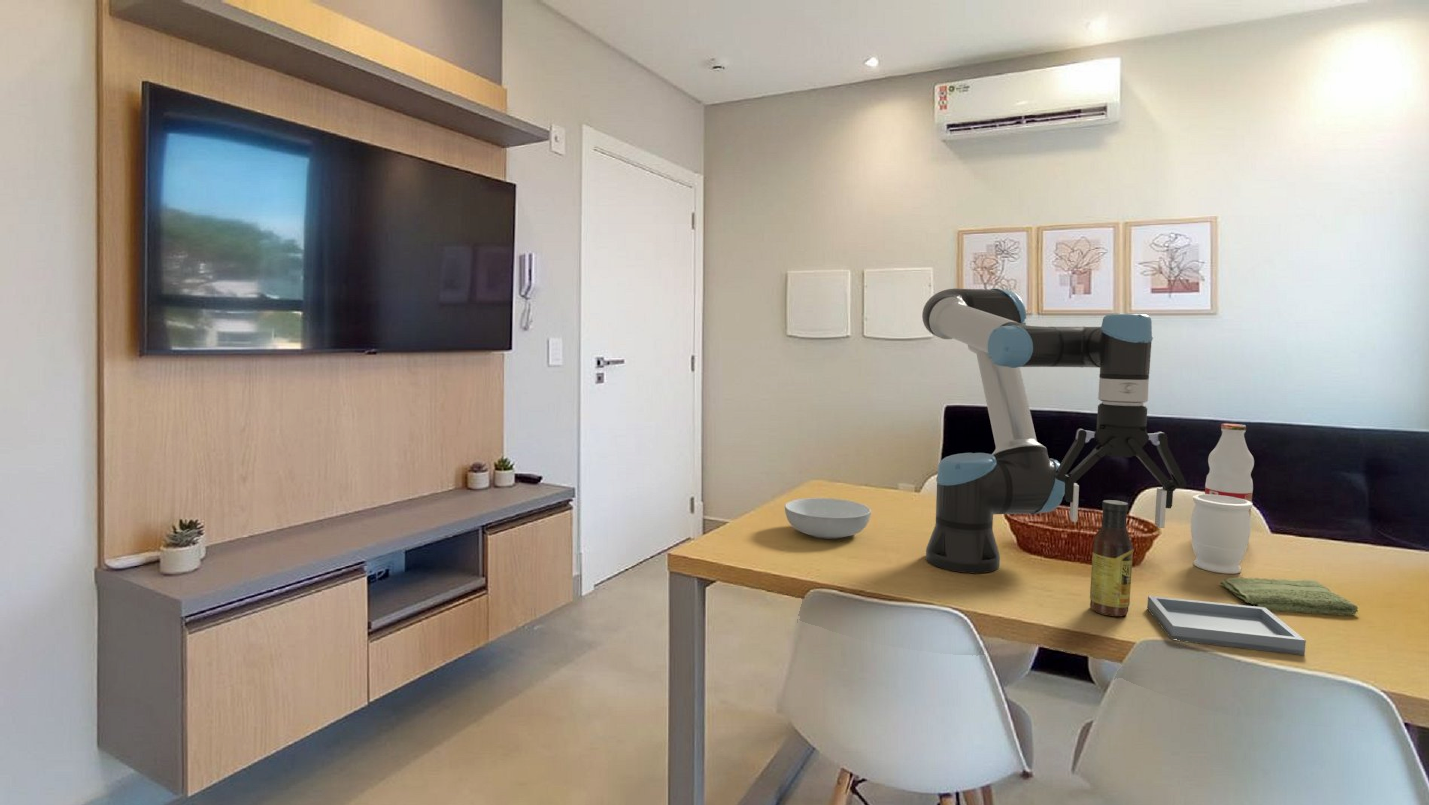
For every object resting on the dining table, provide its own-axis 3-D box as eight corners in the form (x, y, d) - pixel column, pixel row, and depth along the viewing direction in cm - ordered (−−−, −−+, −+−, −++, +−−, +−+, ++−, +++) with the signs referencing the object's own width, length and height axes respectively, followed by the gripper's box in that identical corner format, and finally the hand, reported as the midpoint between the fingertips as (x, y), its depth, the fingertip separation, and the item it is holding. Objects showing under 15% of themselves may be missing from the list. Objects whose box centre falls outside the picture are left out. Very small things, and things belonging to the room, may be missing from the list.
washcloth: (1215, 587, 142) (1216, 571, 142) (1318, 594, 138) (1320, 578, 138) (1248, 611, 130) (1250, 594, 129) (1363, 621, 126) (1364, 603, 125)
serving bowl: (878, 547, 166) (879, 518, 165) (788, 546, 166) (788, 516, 165) (861, 523, 186) (862, 497, 186) (781, 522, 187) (781, 496, 186)
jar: (1257, 578, 146) (1263, 506, 145) (1201, 574, 148) (1206, 503, 147) (1231, 562, 157) (1236, 494, 155) (1179, 558, 159) (1183, 492, 157)
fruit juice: (1258, 542, 172) (1268, 426, 170) (1224, 543, 171) (1233, 427, 168) (1224, 531, 182) (1233, 422, 179) (1192, 532, 180) (1200, 422, 177)
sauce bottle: (1128, 621, 124) (1135, 508, 122) (1087, 613, 127) (1094, 503, 125) (1129, 609, 129) (1136, 501, 127) (1090, 601, 132) (1097, 496, 131)
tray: (1172, 640, 116) (1173, 625, 116) (1147, 608, 129) (1148, 595, 129) (1304, 655, 111) (1305, 640, 111) (1264, 620, 124) (1265, 607, 124)
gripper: (1047, 402, 124) (1042, 522, 126) (1213, 407, 117) (1205, 534, 119) (1041, 399, 131) (1035, 512, 133) (1197, 403, 124) (1189, 523, 126)
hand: (1115, 523), depth 126 cm, fingers open, 13 cm apart
